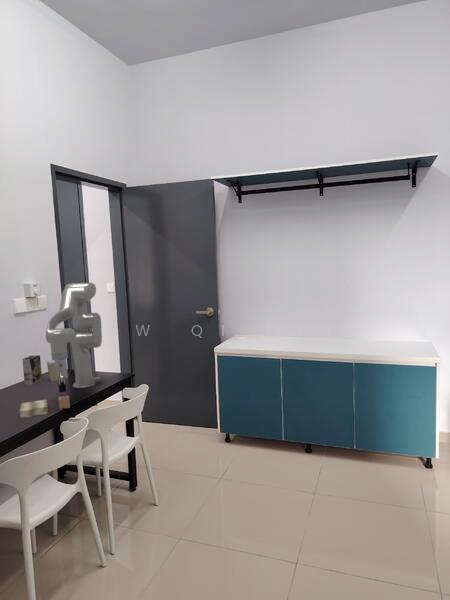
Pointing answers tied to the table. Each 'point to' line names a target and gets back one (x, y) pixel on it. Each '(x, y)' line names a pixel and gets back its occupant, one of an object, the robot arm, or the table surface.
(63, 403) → the terracotta cube
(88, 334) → the robot arm
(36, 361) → the coffee box
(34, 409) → the birch block
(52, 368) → the coffee cup
